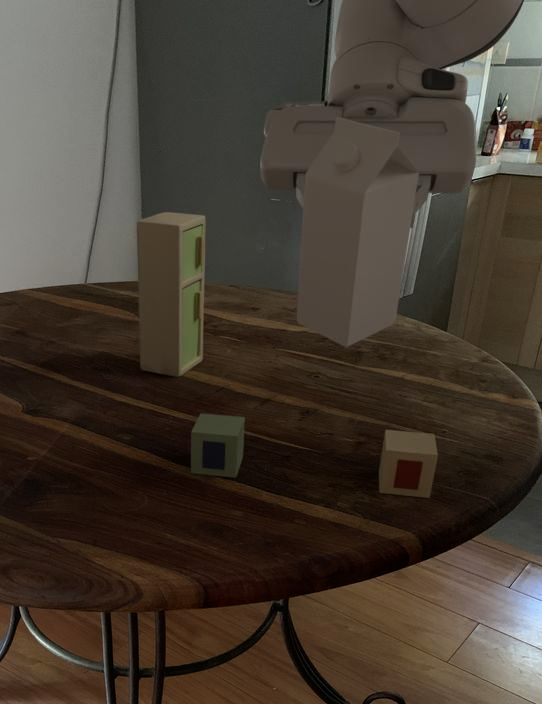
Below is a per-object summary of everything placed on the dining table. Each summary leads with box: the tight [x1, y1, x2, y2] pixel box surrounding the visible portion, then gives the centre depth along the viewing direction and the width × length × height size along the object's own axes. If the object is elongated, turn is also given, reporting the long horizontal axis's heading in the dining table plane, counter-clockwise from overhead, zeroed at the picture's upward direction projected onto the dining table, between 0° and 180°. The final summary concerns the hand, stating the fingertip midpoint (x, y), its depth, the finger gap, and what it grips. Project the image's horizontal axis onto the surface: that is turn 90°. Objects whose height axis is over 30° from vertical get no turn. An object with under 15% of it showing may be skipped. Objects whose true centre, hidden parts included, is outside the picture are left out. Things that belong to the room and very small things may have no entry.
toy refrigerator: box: [136, 211, 207, 378], centre depth 104 cm, size 8×7×21 cm
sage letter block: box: [190, 413, 246, 479], centre depth 81 cm, size 5×5×5 cm
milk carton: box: [296, 117, 419, 348], centre depth 69 cm, size 7×7×19 cm
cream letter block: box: [378, 429, 439, 499], centre depth 76 cm, size 5×5×5 cm
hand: (357, 223), depth 70 cm, fingers closed on milk carton, 7 cm apart
